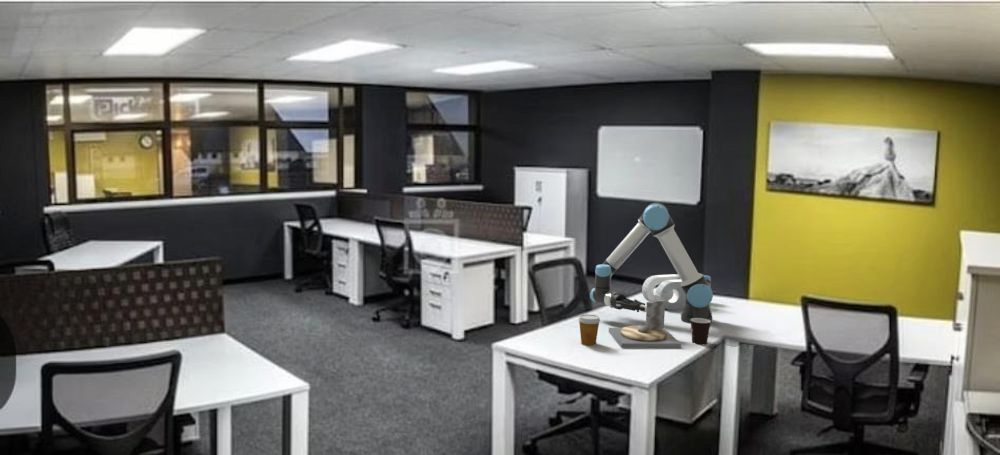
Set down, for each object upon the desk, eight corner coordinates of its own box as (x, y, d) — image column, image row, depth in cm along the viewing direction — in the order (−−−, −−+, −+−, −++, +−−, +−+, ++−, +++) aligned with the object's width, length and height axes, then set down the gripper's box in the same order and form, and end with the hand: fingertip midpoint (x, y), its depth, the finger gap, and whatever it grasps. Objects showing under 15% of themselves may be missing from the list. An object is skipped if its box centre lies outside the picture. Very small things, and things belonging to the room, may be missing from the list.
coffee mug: (706, 346, 312) (707, 324, 310) (686, 343, 316) (688, 321, 315) (713, 340, 321) (715, 318, 320) (694, 337, 326) (695, 315, 325)
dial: (643, 343, 307) (644, 310, 305) (611, 332, 323) (612, 301, 321) (679, 336, 319) (680, 304, 317) (646, 326, 335) (647, 295, 333)
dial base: (663, 331, 334) (663, 327, 334) (680, 347, 309) (681, 342, 308) (608, 331, 333) (608, 326, 332) (621, 348, 307) (621, 342, 307)
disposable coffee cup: (603, 343, 313) (604, 316, 312) (590, 347, 306) (591, 320, 305) (586, 339, 320) (586, 313, 318) (573, 343, 313) (573, 316, 311)
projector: (659, 310, 376) (661, 282, 375) (641, 303, 394) (642, 275, 392) (716, 306, 388) (717, 279, 386) (695, 299, 405) (697, 273, 404)
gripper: (625, 306, 348) (661, 316, 329) (605, 309, 341) (640, 320, 322) (626, 291, 347) (661, 300, 328) (605, 294, 340) (641, 304, 321)
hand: (651, 310), depth 325 cm, fingers closed
